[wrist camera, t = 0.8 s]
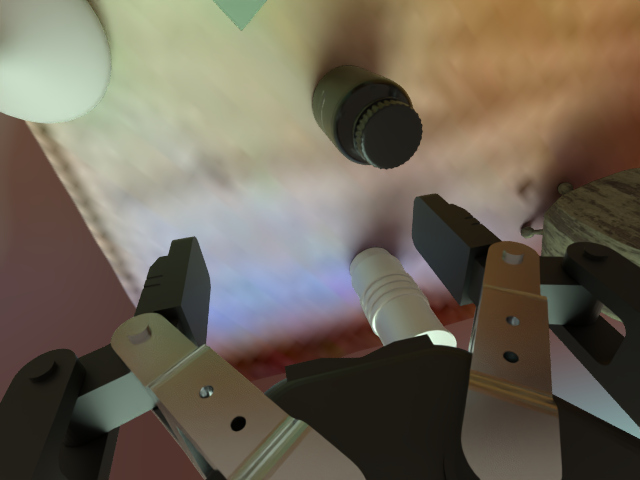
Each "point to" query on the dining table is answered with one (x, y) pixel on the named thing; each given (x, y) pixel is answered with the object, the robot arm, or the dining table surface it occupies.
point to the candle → (394, 300)
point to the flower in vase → (51, 59)
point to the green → (240, 10)
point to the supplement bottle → (367, 117)
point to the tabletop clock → (595, 218)
